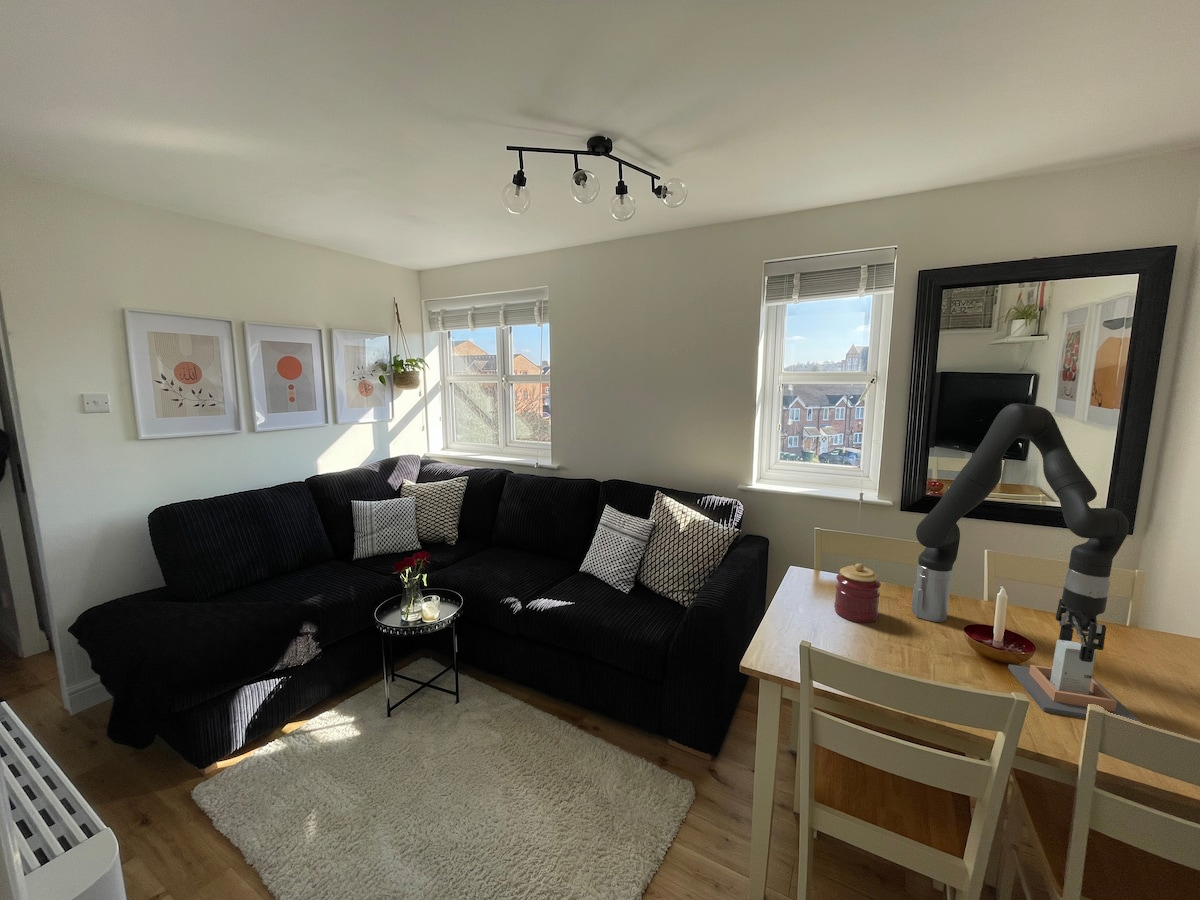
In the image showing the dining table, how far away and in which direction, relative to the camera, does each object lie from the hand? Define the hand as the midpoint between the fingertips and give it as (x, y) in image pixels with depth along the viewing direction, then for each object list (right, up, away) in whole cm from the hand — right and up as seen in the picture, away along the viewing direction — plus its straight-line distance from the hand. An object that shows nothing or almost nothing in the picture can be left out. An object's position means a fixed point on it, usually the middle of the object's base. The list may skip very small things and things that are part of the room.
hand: (1074, 651), depth 120 cm
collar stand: (0, -12, +2) cm, 12 cm away
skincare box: (0, -11, +2) cm, 11 cm away
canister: (-31, -6, +43) cm, 54 cm away
